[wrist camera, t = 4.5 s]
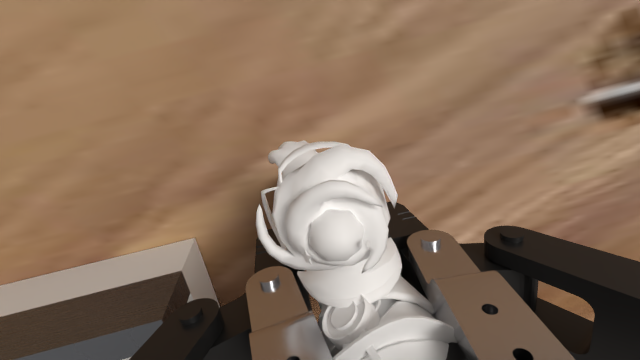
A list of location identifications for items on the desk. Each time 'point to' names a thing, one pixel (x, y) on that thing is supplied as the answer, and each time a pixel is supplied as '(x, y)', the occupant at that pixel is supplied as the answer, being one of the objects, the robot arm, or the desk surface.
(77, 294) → the shelf board
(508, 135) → the desk surface
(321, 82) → the desk surface
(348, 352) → the white toy figure
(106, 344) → the rail
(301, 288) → the robot arm
